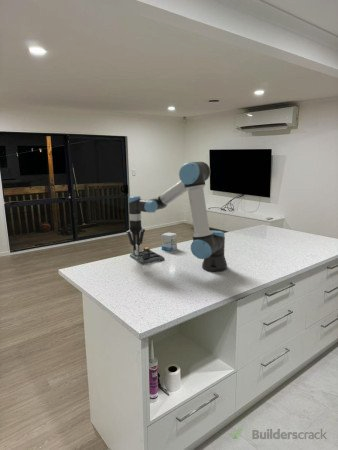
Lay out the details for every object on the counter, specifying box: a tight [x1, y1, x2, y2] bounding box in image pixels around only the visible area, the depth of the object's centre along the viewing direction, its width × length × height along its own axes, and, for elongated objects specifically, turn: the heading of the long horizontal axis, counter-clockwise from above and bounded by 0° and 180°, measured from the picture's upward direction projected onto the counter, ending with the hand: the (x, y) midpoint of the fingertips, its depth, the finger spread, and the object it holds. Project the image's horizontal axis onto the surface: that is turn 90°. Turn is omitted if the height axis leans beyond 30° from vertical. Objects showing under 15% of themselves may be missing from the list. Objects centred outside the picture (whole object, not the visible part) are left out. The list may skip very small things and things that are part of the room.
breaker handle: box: [143, 246, 151, 255], centre depth 214 cm, size 3×3×5 cm
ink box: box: [161, 232, 178, 252], centre depth 234 cm, size 9×8×12 cm
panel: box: [129, 248, 166, 265], centre depth 214 cm, size 20×16×6 cm
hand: (136, 254), depth 210 cm, fingers closed
